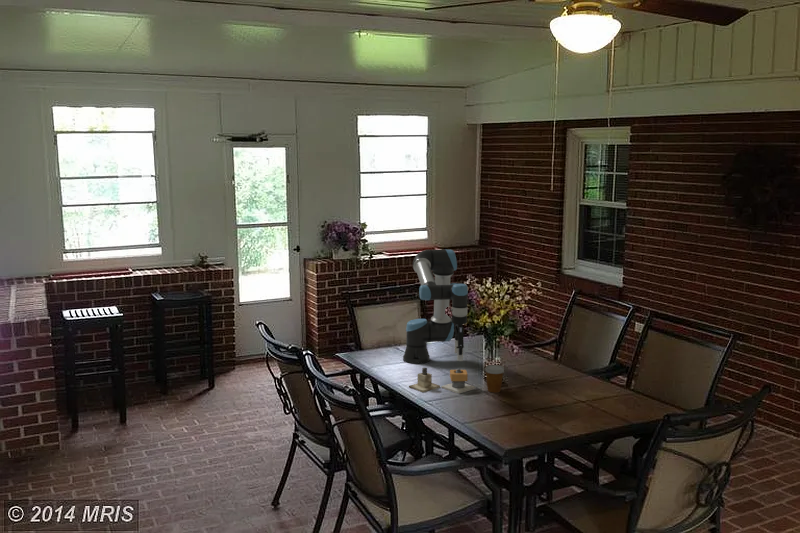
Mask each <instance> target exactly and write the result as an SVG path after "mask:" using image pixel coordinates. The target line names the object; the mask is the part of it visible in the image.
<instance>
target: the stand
mask: <svg viewBox="0 0 800 533" xmlns="http://www.w3.org/2000/svg"><path fill="white" fill-rule="evenodd" d="M421 370H422V372H420V373H419V372H418V373H417V382H416V383H415V384H411V385H408V388H409V389H411V390H414V391H418V392H420V393H426V392H429V391H433V390H436V389H440V388H441V385H439V384H436V383H433V382H432V379H433V377H432V376H433V375H432V373H429V372H428V368H427V367H422V369H421Z"/></svg>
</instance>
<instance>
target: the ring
mask: <svg viewBox="0 0 800 533" xmlns="http://www.w3.org/2000/svg"><path fill="white" fill-rule="evenodd" d="M456 370H457V369H450V370H449V378H450V381H451V382H452V381H465V382H468V380H469V379H468V375H469V374H468V371H467V369H461V373H456Z"/></svg>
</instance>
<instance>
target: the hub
mask: <svg viewBox="0 0 800 533" xmlns="http://www.w3.org/2000/svg"><path fill="white" fill-rule="evenodd" d="M455 370H456V373H461V370H462V369H461V368H456V369H455ZM440 388H441V389H444V390H446V391H449V392H453V393H455V394H458V395H459V394H462V393H466V392H469V391H473V390H475V389H476V386H473V385H470V384H467V383H466V381H451V383H448V384H444V385H440Z"/></svg>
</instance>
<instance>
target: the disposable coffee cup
mask: <svg viewBox="0 0 800 533" xmlns="http://www.w3.org/2000/svg"><path fill="white" fill-rule="evenodd" d="M484 371H485V376H486V377H485V378H486V384H487V392H490V393H494V394H495V393H500V392H501V389H502V384H503V376H504V373H505V369H504V366H503V365H500V364H499V365H498V364H489V365H486V366H485V368H484Z"/></svg>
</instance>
